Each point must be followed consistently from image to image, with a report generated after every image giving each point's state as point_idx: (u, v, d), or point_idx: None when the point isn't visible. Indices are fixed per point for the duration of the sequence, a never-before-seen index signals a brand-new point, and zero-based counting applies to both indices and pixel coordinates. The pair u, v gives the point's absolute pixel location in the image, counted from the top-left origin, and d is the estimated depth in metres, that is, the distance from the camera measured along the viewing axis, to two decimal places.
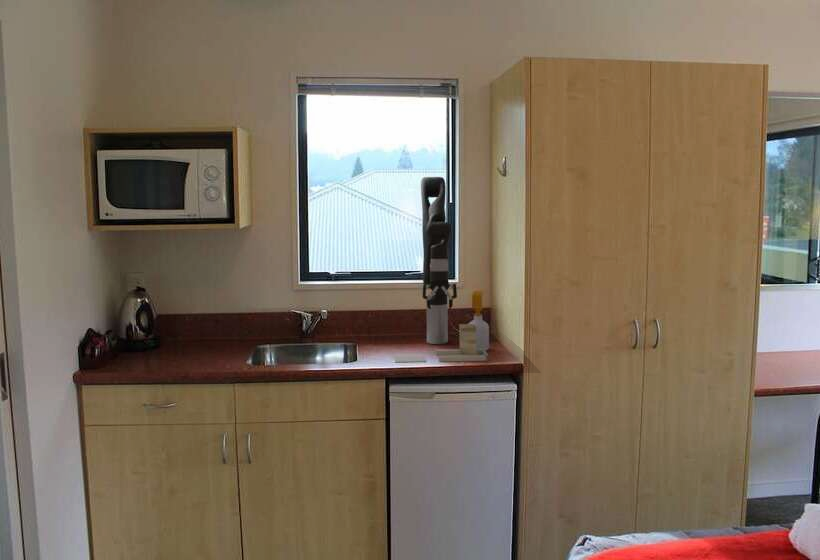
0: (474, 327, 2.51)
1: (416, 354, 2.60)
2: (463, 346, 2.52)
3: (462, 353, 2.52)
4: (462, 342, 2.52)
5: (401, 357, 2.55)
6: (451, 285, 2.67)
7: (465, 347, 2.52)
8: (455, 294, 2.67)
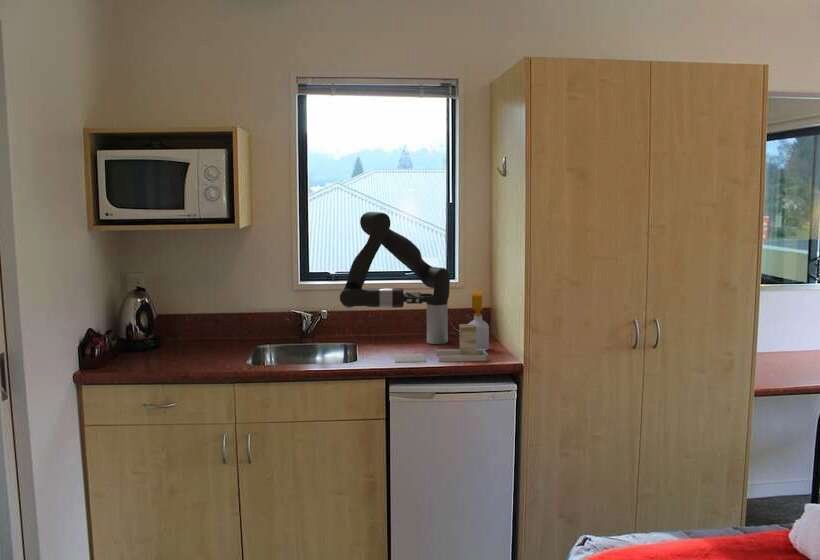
0: (474, 327, 2.51)
1: (416, 354, 2.60)
2: (463, 346, 2.52)
3: (462, 353, 2.52)
4: (462, 342, 2.52)
5: (401, 357, 2.55)
6: None
7: (465, 347, 2.52)
8: None
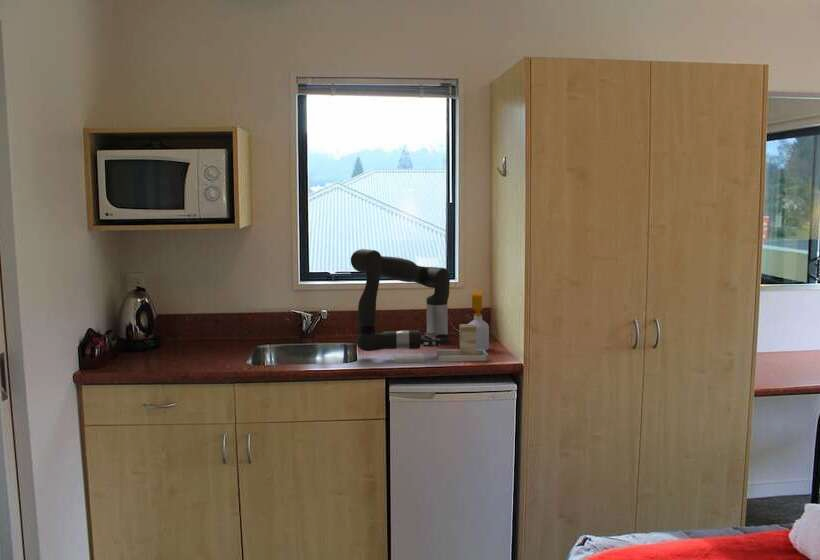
0: (474, 327, 2.51)
1: (416, 354, 2.60)
2: (463, 346, 2.52)
3: (462, 353, 2.52)
4: (462, 342, 2.52)
5: (401, 357, 2.55)
6: None
7: (465, 347, 2.52)
8: None
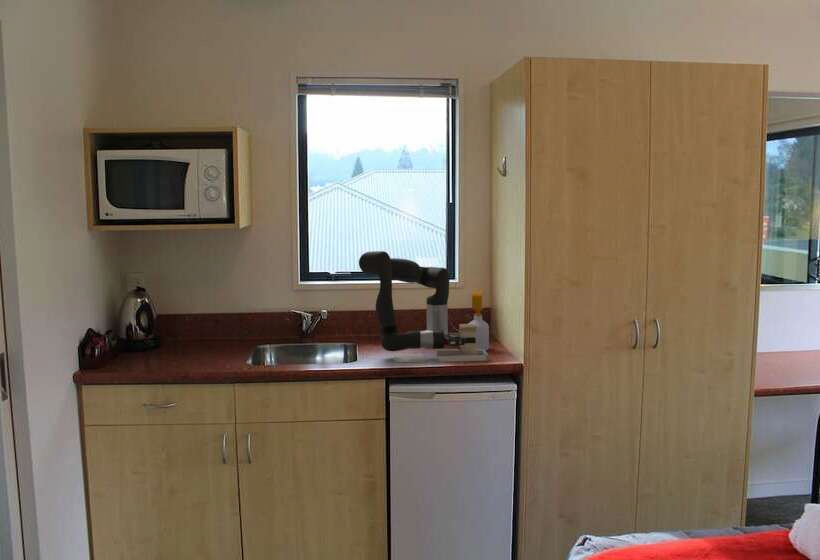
0: (474, 327, 2.51)
1: (416, 354, 2.60)
2: (463, 346, 2.52)
3: (462, 353, 2.52)
4: None
5: (401, 357, 2.55)
6: None
7: (465, 347, 2.52)
8: None
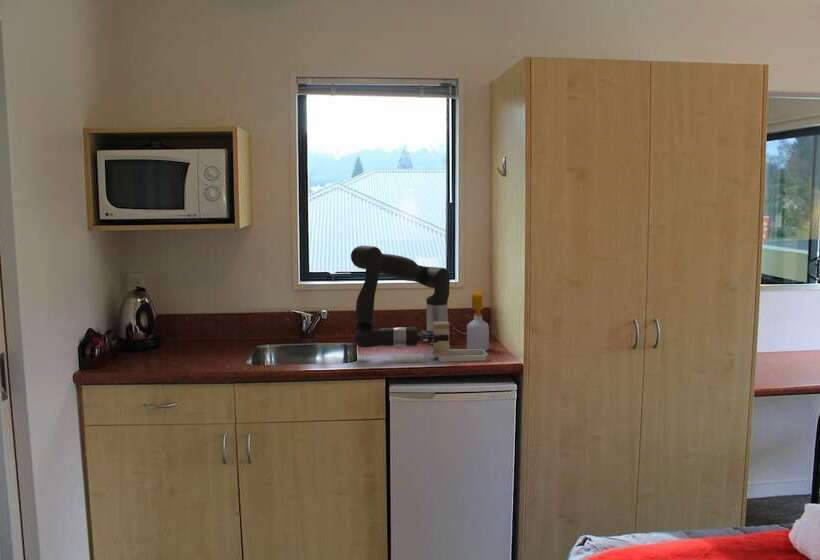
0: (447, 324, 2.51)
1: (416, 354, 2.60)
2: (437, 343, 2.51)
3: (435, 350, 2.52)
4: None
5: (401, 357, 2.55)
6: None
7: (438, 344, 2.51)
8: None
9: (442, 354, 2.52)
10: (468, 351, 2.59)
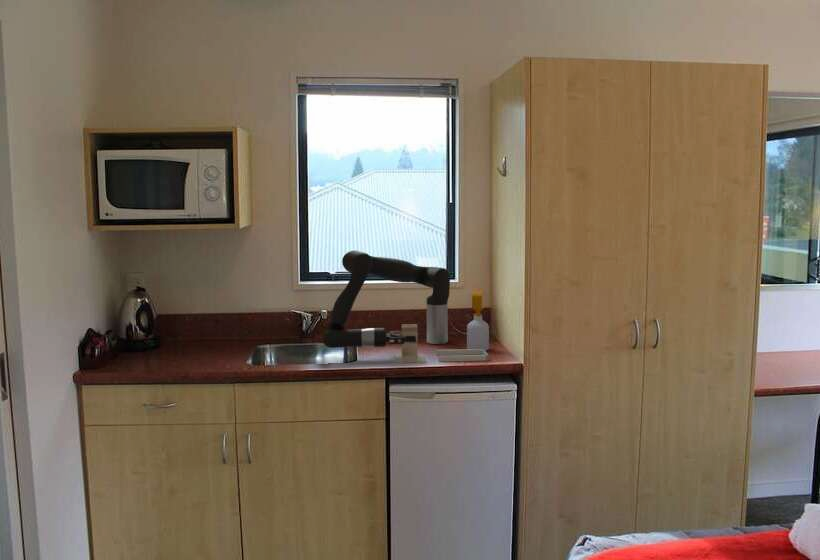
0: (415, 327, 2.50)
1: None
2: (405, 346, 2.51)
3: (404, 353, 2.52)
4: None
5: (401, 357, 2.55)
6: None
7: (407, 347, 2.51)
8: None
9: (410, 357, 2.52)
10: (468, 351, 2.59)
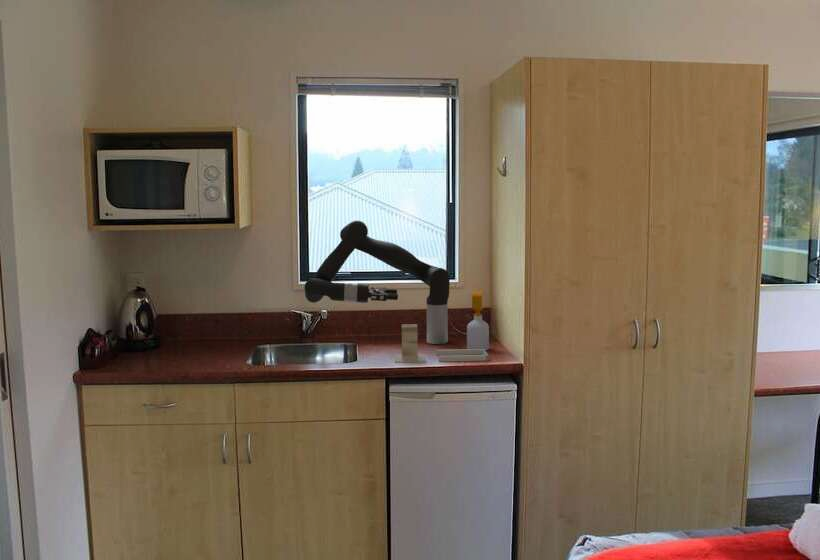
0: (415, 327, 2.50)
1: None
2: (405, 346, 2.51)
3: (404, 353, 2.52)
4: (403, 342, 2.51)
5: (401, 357, 2.55)
6: None
7: (407, 347, 2.51)
8: None
9: (410, 357, 2.52)
10: (468, 351, 2.59)
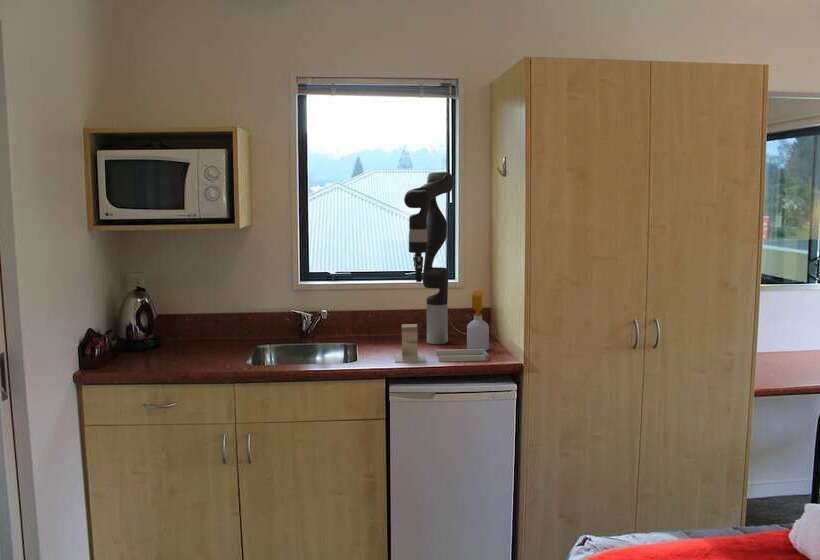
0: (415, 327, 2.50)
1: None
2: (405, 346, 2.51)
3: (404, 353, 2.52)
4: (403, 342, 2.51)
5: (401, 357, 2.55)
6: None
7: (407, 347, 2.51)
8: (416, 267, 2.52)
9: (410, 357, 2.52)
10: (468, 351, 2.59)
